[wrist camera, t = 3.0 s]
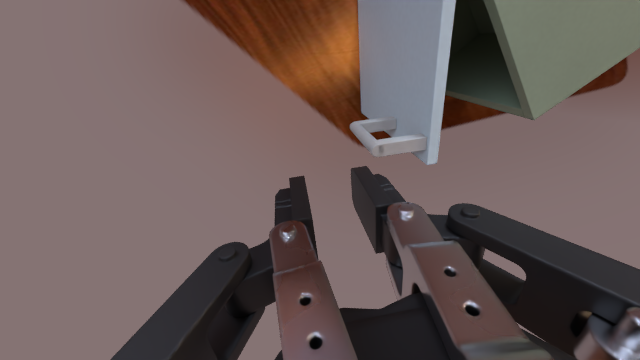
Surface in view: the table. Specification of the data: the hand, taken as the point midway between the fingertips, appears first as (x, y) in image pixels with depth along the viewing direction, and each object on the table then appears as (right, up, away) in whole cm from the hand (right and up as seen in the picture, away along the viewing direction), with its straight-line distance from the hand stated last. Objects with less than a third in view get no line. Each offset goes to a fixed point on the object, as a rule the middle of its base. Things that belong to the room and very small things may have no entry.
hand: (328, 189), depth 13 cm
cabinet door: (+4, +18, +26) cm, 32 cm away
